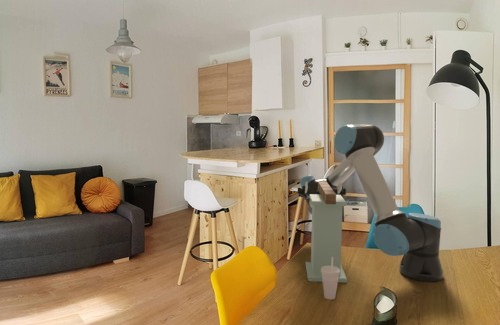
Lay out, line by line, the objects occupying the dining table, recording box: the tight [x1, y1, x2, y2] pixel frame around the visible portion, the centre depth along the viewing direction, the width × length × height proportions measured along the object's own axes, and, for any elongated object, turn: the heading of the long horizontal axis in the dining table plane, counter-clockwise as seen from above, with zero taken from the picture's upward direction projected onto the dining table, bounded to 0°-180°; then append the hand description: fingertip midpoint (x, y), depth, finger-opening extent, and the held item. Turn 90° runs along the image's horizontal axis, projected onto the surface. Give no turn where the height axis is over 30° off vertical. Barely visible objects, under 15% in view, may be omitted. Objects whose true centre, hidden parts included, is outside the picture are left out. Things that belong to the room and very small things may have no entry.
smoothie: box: [321, 257, 340, 300], centre depth 115 cm, size 6×6×14 cm
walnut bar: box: [318, 181, 336, 204], centre depth 132 cm, size 26×4×4 cm, turn 175°
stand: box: [305, 194, 348, 284], centre depth 131 cm, size 14×14×30 cm
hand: (323, 185), depth 139 cm, fingers open, 13 cm apart
